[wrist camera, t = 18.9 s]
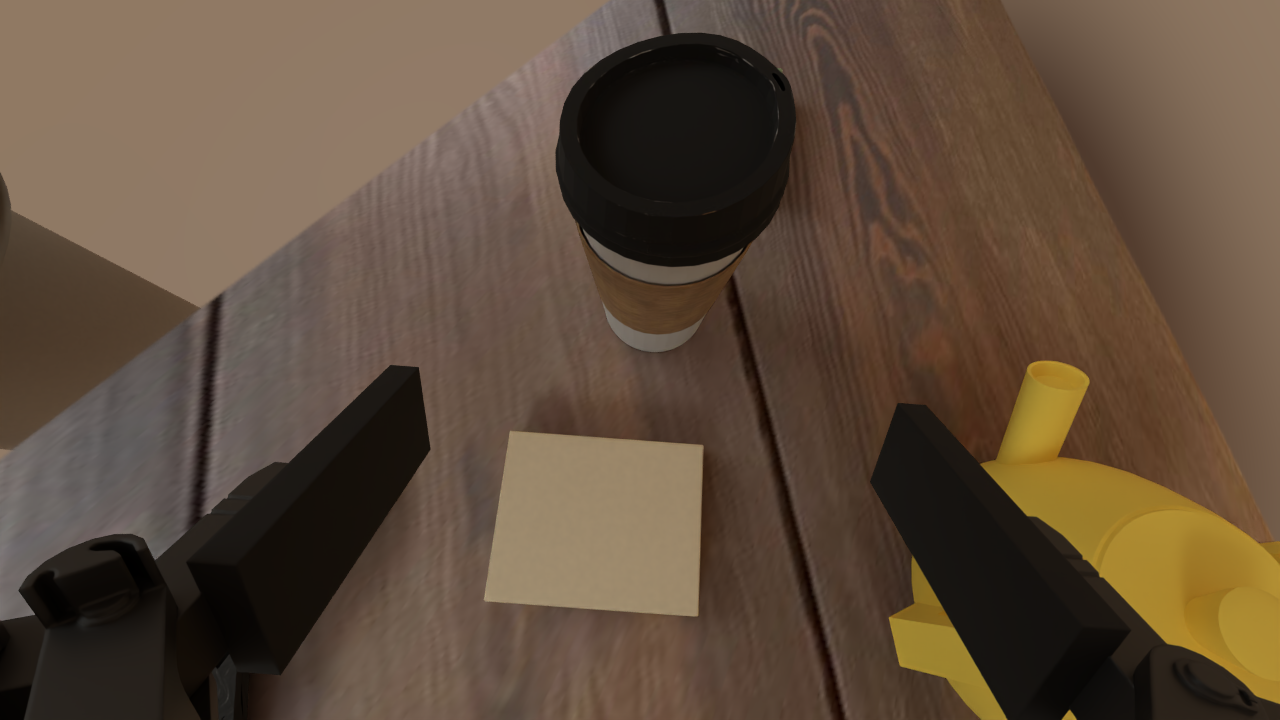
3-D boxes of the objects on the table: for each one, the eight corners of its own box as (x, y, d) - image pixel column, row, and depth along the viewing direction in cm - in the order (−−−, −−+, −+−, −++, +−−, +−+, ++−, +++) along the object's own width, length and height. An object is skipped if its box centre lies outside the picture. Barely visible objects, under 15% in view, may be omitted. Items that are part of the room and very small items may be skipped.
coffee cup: (746, 344, 30) (856, 175, 15) (612, 393, 28) (599, 259, 14) (690, 229, 32) (742, -8, 18) (565, 270, 31) (513, 51, 17)
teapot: (787, 427, 28) (884, 366, 18) (1080, 379, 30) (1333, 296, 19) (904, 873, 22) (1162, 1194, 11) (1267, 786, 23) (1799, 1002, 13)
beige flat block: (494, 595, 25) (483, 601, 23) (517, 437, 28) (509, 430, 26) (693, 610, 25) (698, 617, 23) (698, 450, 28) (703, 444, 26)
